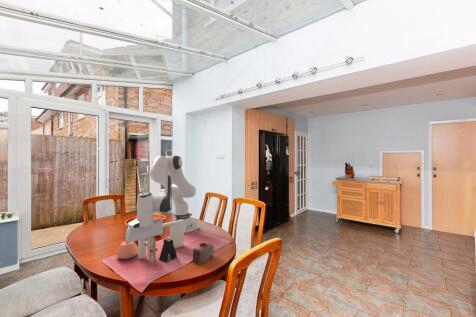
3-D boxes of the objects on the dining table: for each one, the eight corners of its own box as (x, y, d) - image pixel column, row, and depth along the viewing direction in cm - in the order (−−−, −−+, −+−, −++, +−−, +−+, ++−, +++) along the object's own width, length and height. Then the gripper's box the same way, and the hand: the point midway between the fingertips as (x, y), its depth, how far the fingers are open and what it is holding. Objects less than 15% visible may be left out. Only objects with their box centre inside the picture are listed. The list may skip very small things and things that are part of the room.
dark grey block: (205, 253, 143) (205, 238, 143) (215, 256, 139) (215, 240, 139) (191, 262, 131) (191, 245, 131) (201, 265, 127) (201, 248, 127)
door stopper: (164, 262, 130) (164, 242, 130) (158, 259, 134) (158, 240, 134) (177, 257, 137) (177, 238, 137) (171, 254, 141) (171, 236, 141)
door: (145, 256, 137) (145, 231, 137) (152, 255, 139) (152, 230, 139) (150, 265, 126) (150, 238, 126) (157, 264, 128) (158, 236, 128)
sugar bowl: (123, 263, 130) (123, 245, 129) (110, 257, 137) (110, 241, 137) (142, 255, 140) (142, 239, 140) (129, 250, 147) (129, 235, 147)
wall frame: (182, 244, 157) (182, 219, 157) (183, 245, 156) (183, 219, 155) (138, 258, 135) (138, 229, 135) (139, 259, 134) (139, 229, 134)
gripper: (160, 216, 135) (160, 239, 135) (124, 224, 121) (124, 249, 121) (165, 219, 130) (165, 242, 131) (128, 226, 116) (128, 252, 116)
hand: (145, 245), depth 126 cm, fingers closed
